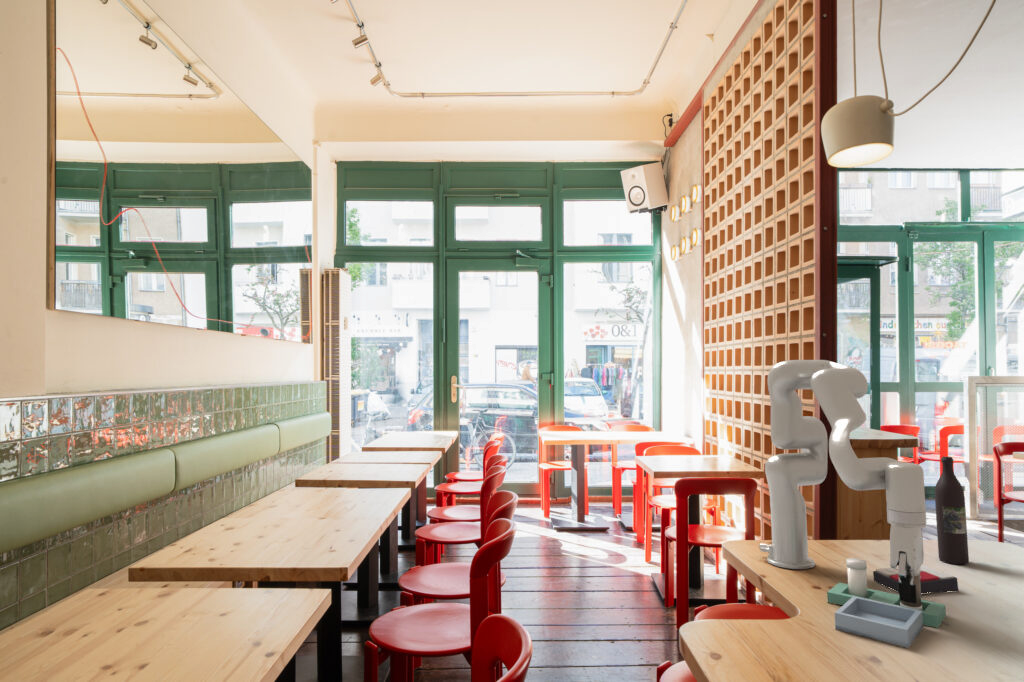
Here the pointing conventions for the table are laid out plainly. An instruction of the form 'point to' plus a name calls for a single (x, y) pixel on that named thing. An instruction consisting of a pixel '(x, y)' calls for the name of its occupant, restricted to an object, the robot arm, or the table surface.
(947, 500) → the wine bottle
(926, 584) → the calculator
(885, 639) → the parts tray
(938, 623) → the block
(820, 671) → the table surface
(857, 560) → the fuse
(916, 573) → the fuse
